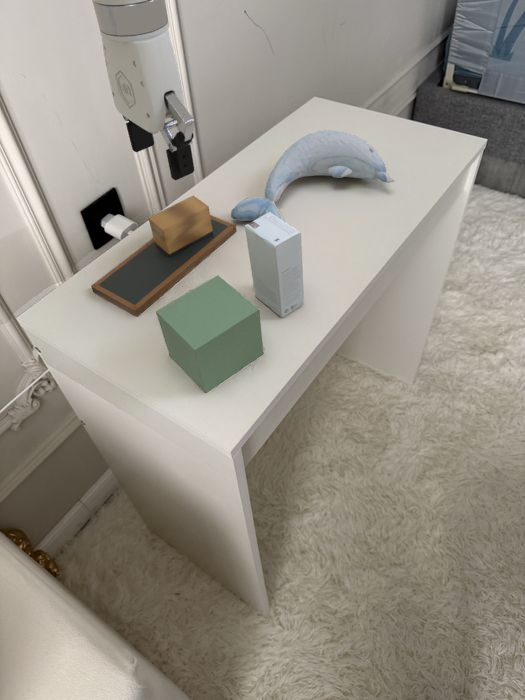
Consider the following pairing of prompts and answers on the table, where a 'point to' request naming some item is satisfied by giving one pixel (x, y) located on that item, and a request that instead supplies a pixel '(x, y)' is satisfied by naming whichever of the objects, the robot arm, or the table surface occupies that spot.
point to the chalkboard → (156, 270)
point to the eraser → (181, 225)
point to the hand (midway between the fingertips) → (162, 161)
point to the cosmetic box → (276, 263)
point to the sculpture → (315, 168)
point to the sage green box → (211, 332)
